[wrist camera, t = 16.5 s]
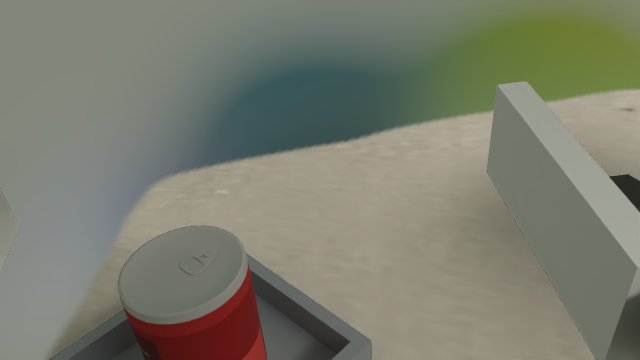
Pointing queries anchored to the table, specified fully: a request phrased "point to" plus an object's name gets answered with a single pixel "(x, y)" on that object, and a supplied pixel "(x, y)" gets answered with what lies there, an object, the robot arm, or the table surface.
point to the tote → (276, 322)
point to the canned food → (192, 297)
